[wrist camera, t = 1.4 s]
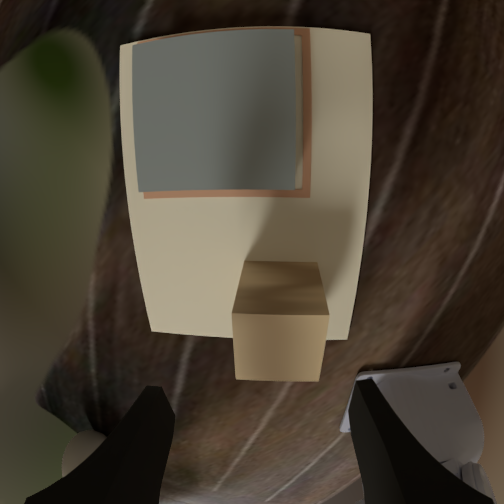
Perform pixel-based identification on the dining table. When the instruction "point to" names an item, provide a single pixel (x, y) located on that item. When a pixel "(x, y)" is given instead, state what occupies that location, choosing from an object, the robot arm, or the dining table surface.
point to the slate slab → (215, 111)
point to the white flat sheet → (264, 199)
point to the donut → (80, 449)
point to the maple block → (279, 321)
